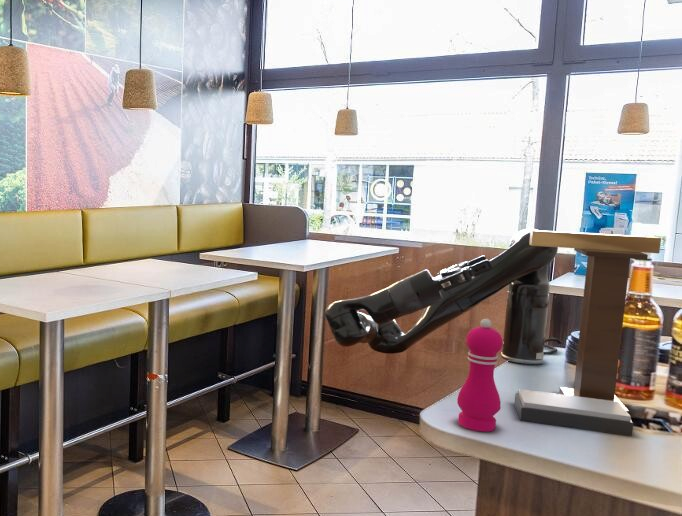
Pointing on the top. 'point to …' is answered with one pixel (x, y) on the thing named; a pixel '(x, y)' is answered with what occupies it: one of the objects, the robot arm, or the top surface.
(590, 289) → the stand
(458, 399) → the pepper mill
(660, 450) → the top surface
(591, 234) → the beech stick
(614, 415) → the scale
